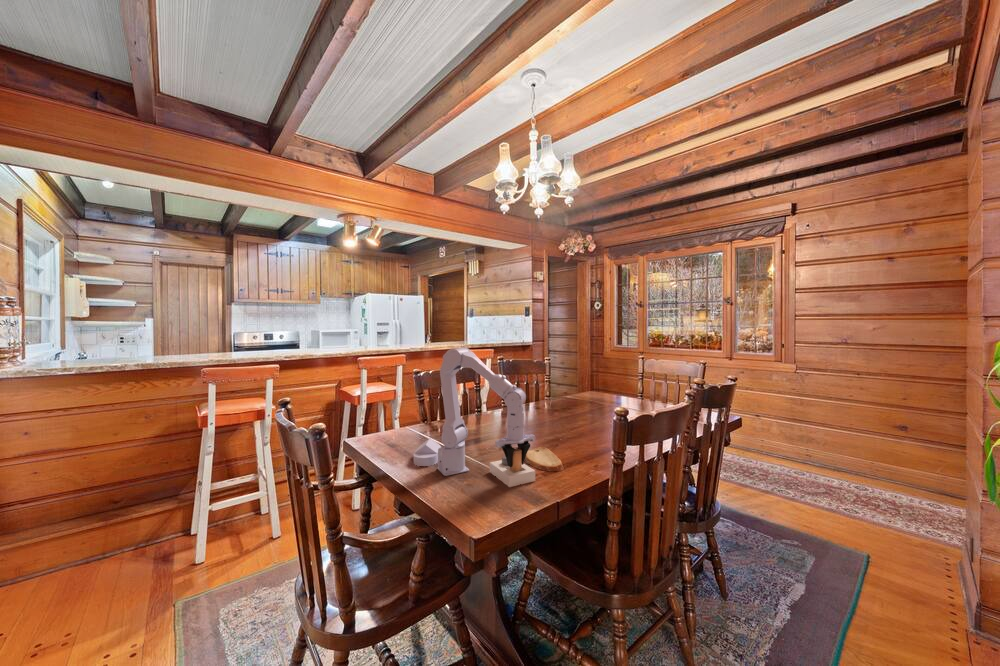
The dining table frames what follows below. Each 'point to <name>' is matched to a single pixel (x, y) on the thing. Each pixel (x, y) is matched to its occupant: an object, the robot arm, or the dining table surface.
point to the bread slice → (543, 459)
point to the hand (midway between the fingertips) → (515, 464)
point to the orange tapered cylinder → (517, 460)
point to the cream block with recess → (511, 473)
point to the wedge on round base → (427, 453)
